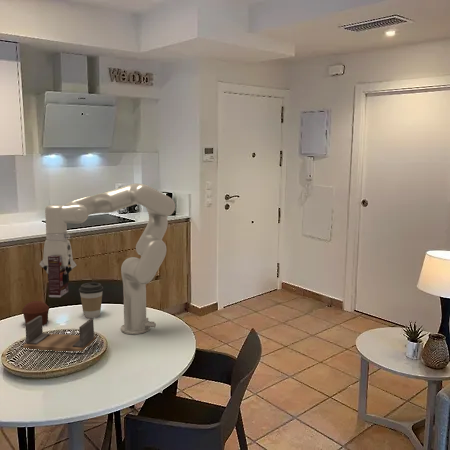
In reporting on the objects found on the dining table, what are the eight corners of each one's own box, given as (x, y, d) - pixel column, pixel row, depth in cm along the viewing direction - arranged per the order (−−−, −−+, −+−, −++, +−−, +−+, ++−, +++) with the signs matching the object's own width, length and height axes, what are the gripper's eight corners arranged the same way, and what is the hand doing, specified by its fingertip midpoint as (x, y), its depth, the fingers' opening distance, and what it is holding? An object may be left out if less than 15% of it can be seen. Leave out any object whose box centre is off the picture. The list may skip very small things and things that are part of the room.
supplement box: (61, 297, 180) (59, 256, 178) (48, 297, 180) (46, 256, 178) (69, 291, 189) (67, 252, 186) (57, 291, 189) (55, 252, 187)
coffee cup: (109, 314, 224) (108, 284, 222) (91, 321, 215) (90, 289, 213) (92, 310, 230) (91, 280, 228) (74, 317, 221) (73, 285, 219)
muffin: (55, 321, 214) (54, 300, 213) (36, 329, 204) (35, 307, 203) (36, 318, 219) (35, 297, 218) (16, 325, 209) (15, 303, 208)
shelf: (96, 341, 191) (95, 317, 190) (82, 354, 179) (81, 328, 177) (41, 337, 195) (40, 314, 194) (23, 350, 182) (22, 325, 181)
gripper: (82, 236, 184) (83, 281, 186) (41, 234, 186) (43, 279, 189) (73, 239, 176) (74, 286, 179) (30, 237, 179) (33, 284, 181)
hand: (58, 282), depth 184 cm, fingers closed on supplement box, 5 cm apart
